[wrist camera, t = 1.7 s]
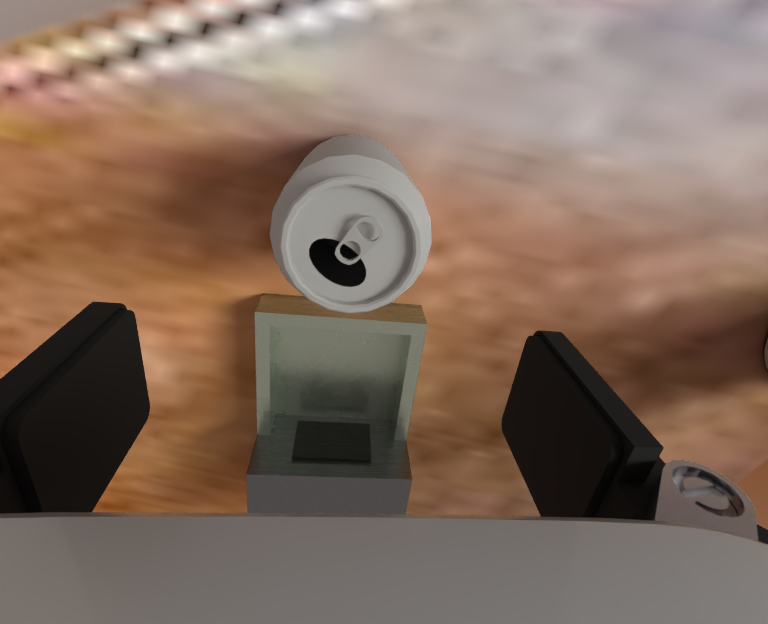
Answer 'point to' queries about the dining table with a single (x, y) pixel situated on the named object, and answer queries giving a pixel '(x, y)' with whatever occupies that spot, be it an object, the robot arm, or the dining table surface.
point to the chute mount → (333, 407)
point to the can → (350, 226)
